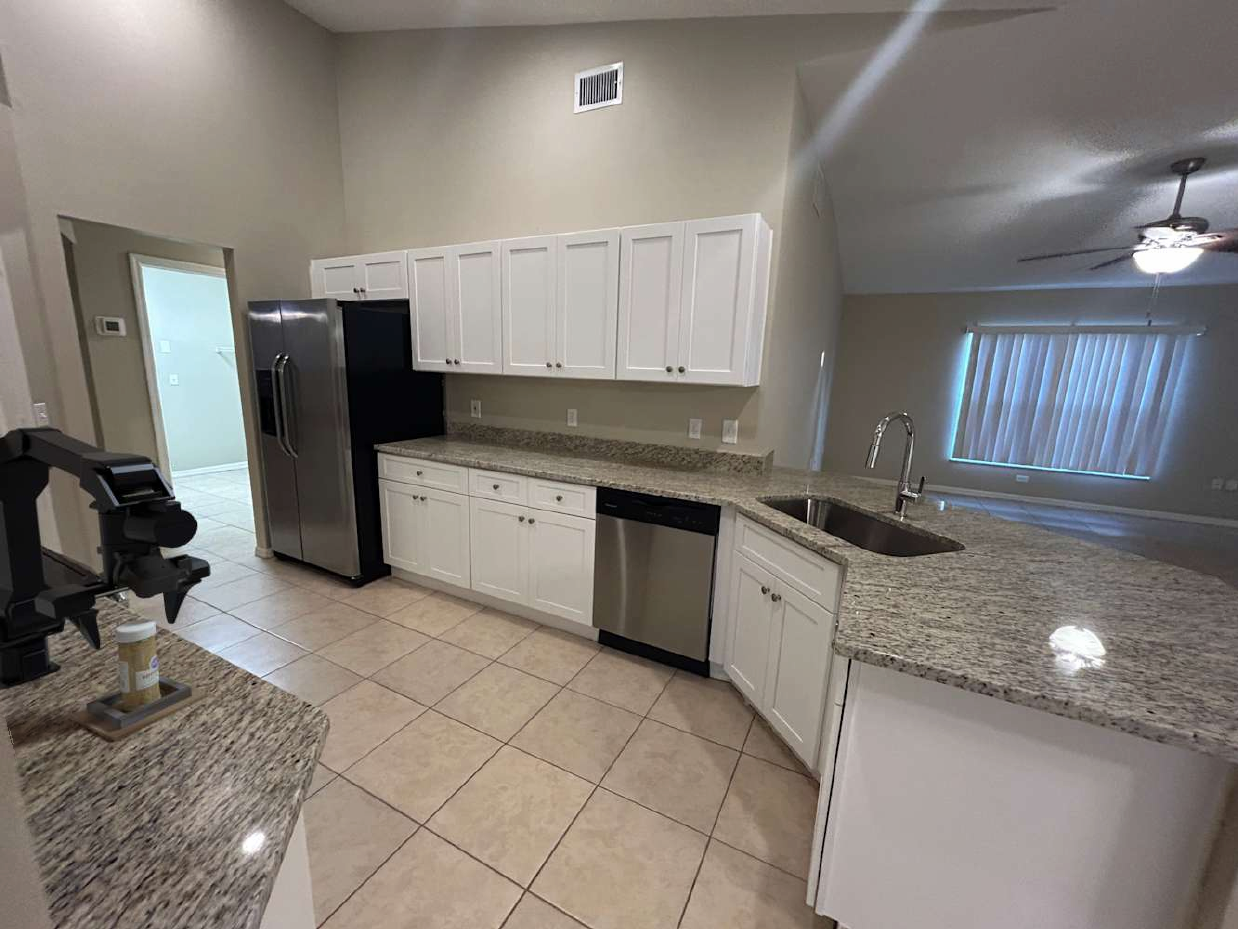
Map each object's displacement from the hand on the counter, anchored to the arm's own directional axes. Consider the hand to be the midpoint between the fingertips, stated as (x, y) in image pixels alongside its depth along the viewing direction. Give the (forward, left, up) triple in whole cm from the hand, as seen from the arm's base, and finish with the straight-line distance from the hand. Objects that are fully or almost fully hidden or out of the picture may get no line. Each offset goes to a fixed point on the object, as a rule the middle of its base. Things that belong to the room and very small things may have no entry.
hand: (136, 635), depth 77 cm
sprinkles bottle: (0, 0, -12) cm, 12 cm away
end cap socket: (0, 0, -12) cm, 12 cm away
